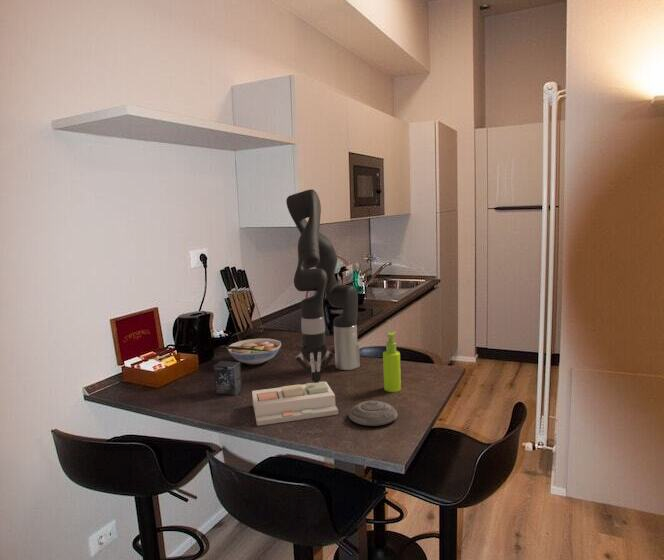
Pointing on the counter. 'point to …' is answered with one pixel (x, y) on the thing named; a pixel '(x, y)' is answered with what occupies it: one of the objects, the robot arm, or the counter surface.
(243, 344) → the ramen bowl
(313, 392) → the sage key
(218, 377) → the box
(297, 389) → the sand key
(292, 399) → the keypad
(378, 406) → the flying saucer
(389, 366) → the soap dispenser
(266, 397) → the coral key
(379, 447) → the counter surface
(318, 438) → the counter surface
